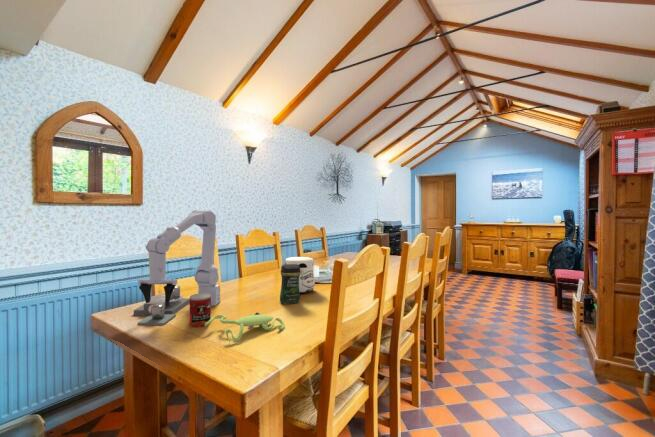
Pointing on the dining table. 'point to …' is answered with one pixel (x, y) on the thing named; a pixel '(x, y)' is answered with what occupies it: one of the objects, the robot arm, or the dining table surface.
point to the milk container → (304, 273)
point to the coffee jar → (290, 284)
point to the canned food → (200, 309)
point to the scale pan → (163, 298)
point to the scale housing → (169, 307)
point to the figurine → (247, 323)
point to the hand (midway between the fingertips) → (157, 302)
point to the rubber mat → (163, 321)
